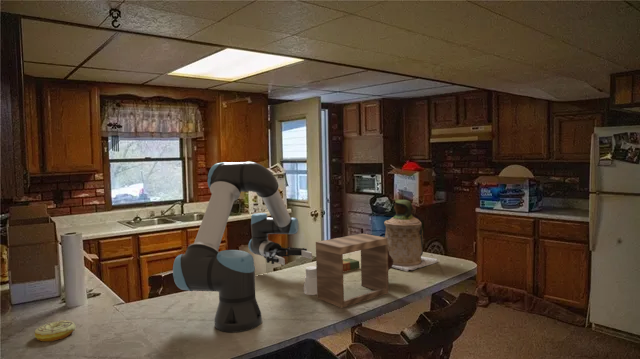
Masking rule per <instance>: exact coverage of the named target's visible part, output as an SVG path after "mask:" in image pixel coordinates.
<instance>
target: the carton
mask: <svg viewBox="0 0 640 359" xmlns="http://www.w3.org/2000/svg"><path fill="white" fill-rule="evenodd" d="M355 269H356V270H359V269H360V270H361V264H360V260H358V259H353V258H351V257H350V258H349V257H348V258H343V273H346V272H351V271H355ZM345 271H346V272H345Z"/></svg>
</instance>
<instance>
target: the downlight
mask: <svg viewBox="0 0 640 359" xmlns="http://www.w3.org/2000/svg"><path fill="white" fill-rule="evenodd" d="M304 268H305V276H304V284H303V288H302V289H303V293H304V295H308V296H315V295H316V296H317V268H316V265H314V266H313V265H310V266H307V267H304Z"/></svg>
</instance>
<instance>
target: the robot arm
mask: <svg viewBox="0 0 640 359" xmlns="http://www.w3.org/2000/svg"><path fill="white" fill-rule="evenodd" d="M207 186H208V189H209V192H210V193H211V195H210V198H209V201H208V204H207V206H206V209H205V211H204V214H203V217H202V219H201V223H200V225H199V229H198V231H197V234H196V237H195V239H194V242H193V243H191V244H189V245H188V246H187V248H186V251H185V252H184V253H181V254H178V255H177V256H176V257H175V259H174V261H173V265H172V276H173V281H174V283H175V285H176V287H177V288H178V289H180V290H182V291H189V292H217V293H218V298H219V301H218V304H217V305H218V306H217V308H216V312H215V316H214V328H216V330H218V331H221V332H226V333H238V332H245V331H249V330H252V329H255V328H257V327H258V326H260V325H261V323H262V322H263V318H262V316H263V315H262V312H261V309H260V307H259V304H258V301H257V299H256V297H257V296H256V276H255V275H256V272H255V271H256V268H255V266H256V265H255V261H254V256H253V255H252V254H251V253H253V254H255V255H258V256H260V257H263V258H264V259H265V261H266V263H267V264H268V263H270V262H271V265H274V264H275V263H276V264H279V265H281V266H285V265H286V261H285V260H286V259H285V257H289V256H297V257H298V256H299V257H300V256H301V257H303V258H306V259H309V260H312V259H313V252H311V251H309V250H308V249H307V248H305V247H302V248H301V247H291V246H288V247H282V245H281V244H280V243H277V242H274V241H272V240H269V235H295V234H297V233H298V231H299V219H298V218H297V217H293V216H292V217H291V215H290V213H289V211H288V208H287V206H286V204H285V202H284V200H283V197H282V196H281V193H280V191H279V186H280V185H279V182H278V180H277V177H276V176H275V174H273V172H271V170H269V169H268V168H267V167H265V166H264V165H262V164H261V163H258V162H254V161H240V162H239V161H238V162H237V161H236V162H235V161H234V162H233V161H231V162H227V161H223V162H216V163H215V164H213V165H212V166H211V168H210V169H209V171H208V174H207ZM242 192H243V193H244V192H253V193H256V194H257V196H258V197H260V198H261V199H262V202H263V203H264V205H265V207H266V209H267V211H268V213H269V215H270V217H268V214H267V213H265V212H259V213H253V214H251V217H250V218H251V219H250V220H251V221H250V229H251V239H250V240H249V242H248V244H247V245H248V250H249V251H250V252H251V253H249V252H247V251H244V250H240V249H239V250H238V249H225V250H221V251H219V249H220V245H221V242H222V240H223V239H222V238H223V236H224V233H225V230H226V226H227V224H228V221H229V218H230V214H231V212H232V208H233V205H234V202H235V201H237V200H238V199H239V198H240V196H241V193H242Z"/></svg>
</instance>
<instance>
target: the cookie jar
mask: <svg viewBox="0 0 640 359" xmlns="http://www.w3.org/2000/svg"><path fill="white" fill-rule="evenodd" d="M394 202H395V203H394V207H393V208H394V209H393V210H394V211H395V215H394V216H393V217H391V218H390V219H388V220H387V219H386V220H385V221H384V222H383V223H384V226H385V233H384V237H385V238H388V251H389V255H390V256H391V258H392V259H393V265H392V267H391V268H393V269H396V270H401V271H404V272H407V273H408V272H409V271H415V270H417V269H421V268H423V267H424V268H425V267H427V266H430V265H434V264H437V263H438V258H435V257H427V256H423V254H424V249H423V247H424V244H423V238H424V235H423V234H424V231H423V224H422V222H421V220H420V219H419V218H417V217H416V216H414V212H416V209H417V207H416V204H414V203H412V202H411V201H410V200H408V199H398V198H395V197H394Z"/></svg>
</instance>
